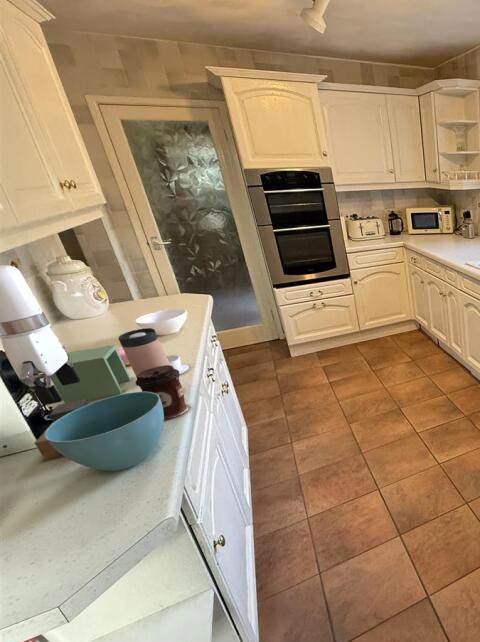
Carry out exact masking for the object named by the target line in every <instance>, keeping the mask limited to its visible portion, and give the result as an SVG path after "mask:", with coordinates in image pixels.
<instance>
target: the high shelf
mask: <svg viewBox="0 0 480 642" xmlns="http://www.w3.org/2000/svg"><path fill="white" fill-rule="evenodd" d="M118 350H119V349H118V348H117V346H116V345H115V344H111V345H105V346H99V347H94V348H89V349H88V348H87V349H82V350H77V351H76V350H75V351H71V352H67V355H69V361H70V362H72V364H73V366H72V367H73V368H74V369H75V371H76V373H77V375H78V376H79V378H80V380H81V381H80V382H78V383H73V384H69V385H62V384H61V383H60V381H59V379H58V378H57V376H56V374H55V373H53V374H52V375H51V376H50V380H51V383H52V384H53V385H54V386H55V387H56V389H57V391H58V392H59V394H60V396H61V397H62V399H63V400H62V402H64V403H69V402H74V401H78V400H83V399H87V400H88V401H93V400H97V399H102V398H108V397H112V396H116V395H121V394H123V390H122V388H121V386H120V384H121V383H124V382H129V381H131V380H132V377H131V376H130V373H129V371H128V369H127V367H126V365H124V363H123V361H122V359H121V356H120V354H119V352H118ZM119 383H120V384H119Z"/></svg>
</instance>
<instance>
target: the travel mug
mask: <svg viewBox="0 0 480 642" xmlns="http://www.w3.org/2000/svg"><path fill="white" fill-rule="evenodd" d="M118 340H119V343H120V345H121V347H122V349H124V352H125V354H126V356H127V358H128V360H129V363H130V365H129V366H130V367H131V369H132V371H133V373H134V375H135V377H136V379H137V375H138V374H139V373H140V372H142V371H144V370H147V369H151V368H155V367H158V366H165V365H170V364H169V361H168V359H167V357H166V356H167V355H166V352H165V350H164V348H163V346H162V343H161V341H160V339H159V336H158V335H157V334H156V332H155V330H154V329H152V328H145V329H143V328H137V329H134V330H131V331H127V332H124V333H121V334H120V335H119V336H118Z"/></svg>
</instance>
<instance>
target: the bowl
mask: <svg viewBox="0 0 480 642" xmlns="http://www.w3.org/2000/svg"><path fill="white" fill-rule="evenodd" d="M187 318H188V312H187V310H186V309H183V308H172V309H163V310H158V311H154V312H151V313H148V314H144V315H142V316H140V317H138V318H136V319H135V324H136V325H137V326H138V327H139V328H140V329H145V328H152V329H154V330H155V332H156V334H157V336H167V335H171V334H175V333H177V332H179V331H180V330H181V328H182V326H183V325H184V323H185V322H186V320H187Z"/></svg>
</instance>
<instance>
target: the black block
mask: <svg viewBox="0 0 480 642" xmlns="http://www.w3.org/2000/svg"><path fill="white" fill-rule="evenodd" d="M88 404H90V402H89V400H87V399H83V400H78V401H74V402H69V403H65V402H64V403H60V404H58V405H57V406H56V407H55V408H54V409H53V410H52V411H51V412H50V413H49V414H48V416H49V418H50V420H51V422H52V423H54V422H55V421H57V420H58V419H60V418H61V417H63V416H65V415H66V414H68V413H70V412H72V411H74V410H76V409H78V408H81V407H83V406H86V405H88Z"/></svg>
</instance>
